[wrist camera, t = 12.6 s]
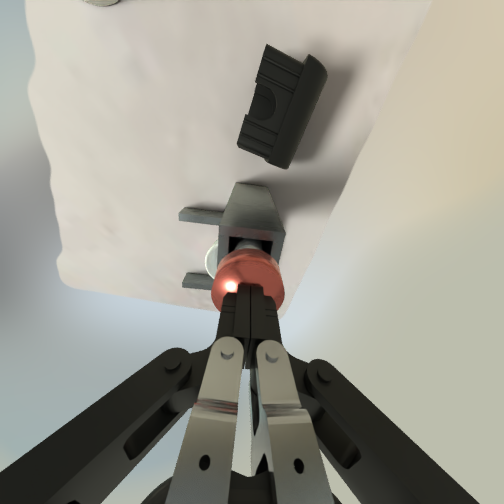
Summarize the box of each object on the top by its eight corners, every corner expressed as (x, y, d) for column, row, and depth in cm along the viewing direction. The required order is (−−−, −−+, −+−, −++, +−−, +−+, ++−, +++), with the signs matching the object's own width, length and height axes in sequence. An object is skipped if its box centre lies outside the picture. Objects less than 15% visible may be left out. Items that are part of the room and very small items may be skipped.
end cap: (282, 167, 29) (291, 172, 23) (238, 148, 28) (234, 148, 22) (316, 86, 24) (337, 68, 19) (264, 59, 23) (269, 30, 17)
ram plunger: (230, 205, 20) (212, 261, 10) (272, 210, 20) (292, 269, 11) (227, 242, 22) (210, 318, 13) (265, 247, 22) (276, 324, 13)
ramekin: (207, 267, 38) (202, 281, 34) (212, 225, 34) (207, 236, 30) (251, 275, 39) (251, 289, 35) (262, 235, 35) (263, 247, 31)
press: (183, 175, 29) (105, 211, 14) (275, 187, 30) (301, 234, 15) (187, 277, 39) (143, 368, 23) (257, 284, 40) (261, 376, 24)
